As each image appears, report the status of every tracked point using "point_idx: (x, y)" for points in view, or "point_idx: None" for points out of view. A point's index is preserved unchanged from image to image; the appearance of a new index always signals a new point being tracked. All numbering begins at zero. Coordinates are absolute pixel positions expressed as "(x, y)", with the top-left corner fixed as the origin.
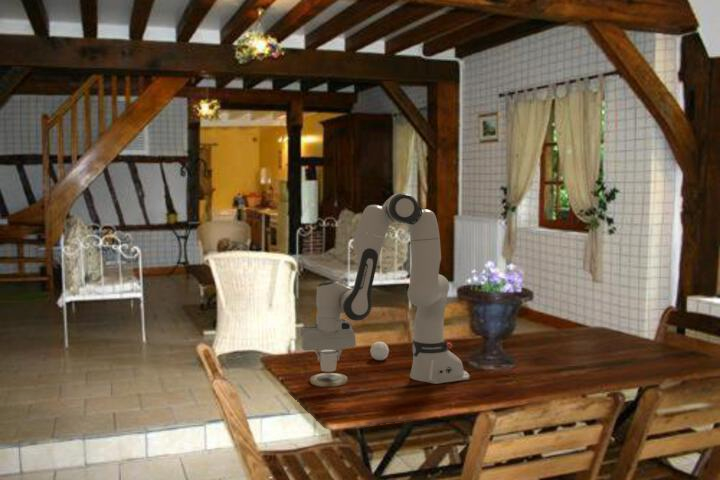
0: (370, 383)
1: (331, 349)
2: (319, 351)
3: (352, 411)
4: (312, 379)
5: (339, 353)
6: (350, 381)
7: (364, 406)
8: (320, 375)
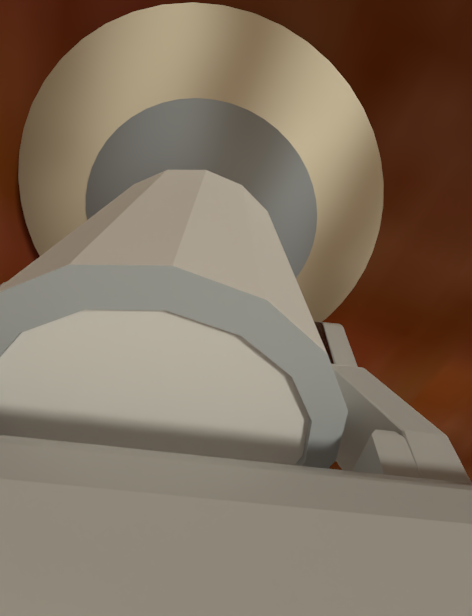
0: (467, 361)
1: (262, 350)
2: None
3: None
4: (43, 208)
5: (343, 459)
6: (371, 276)
7: None
8: (141, 93)
